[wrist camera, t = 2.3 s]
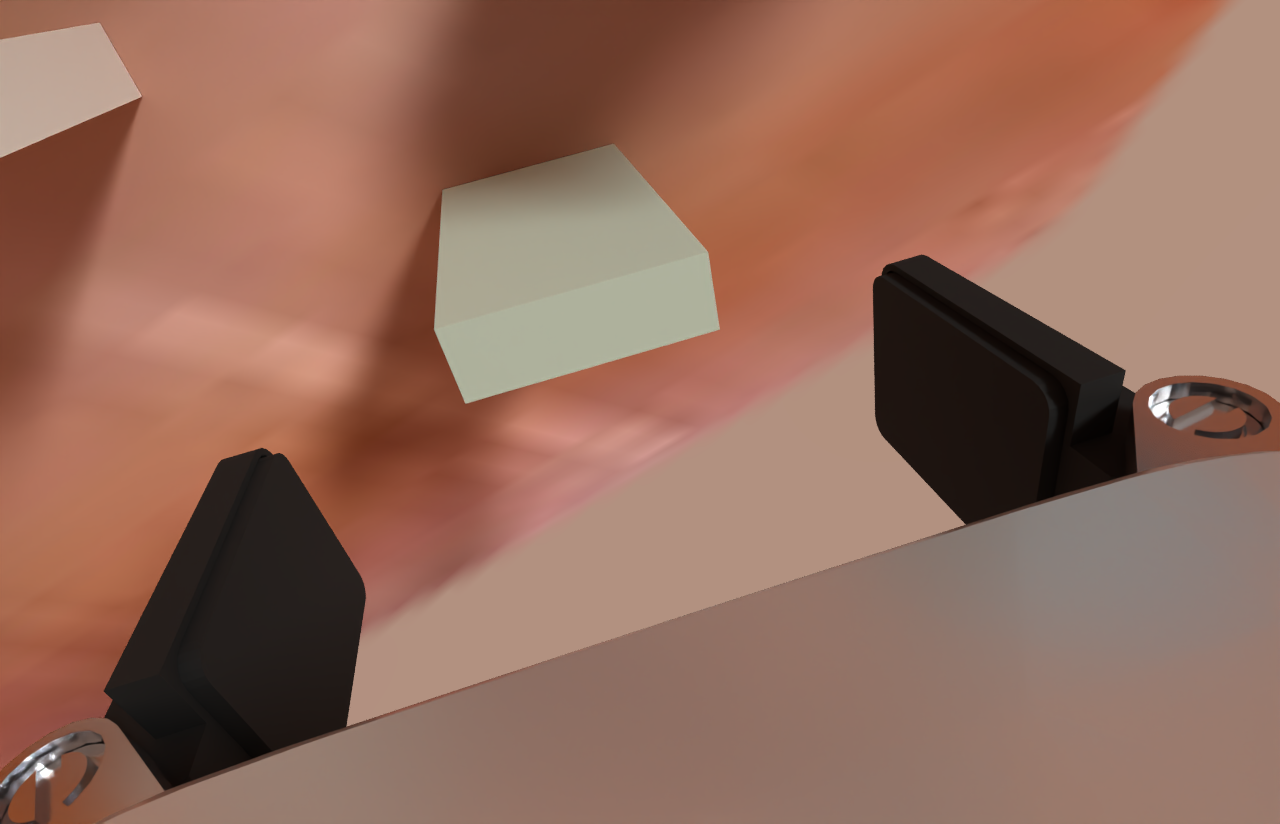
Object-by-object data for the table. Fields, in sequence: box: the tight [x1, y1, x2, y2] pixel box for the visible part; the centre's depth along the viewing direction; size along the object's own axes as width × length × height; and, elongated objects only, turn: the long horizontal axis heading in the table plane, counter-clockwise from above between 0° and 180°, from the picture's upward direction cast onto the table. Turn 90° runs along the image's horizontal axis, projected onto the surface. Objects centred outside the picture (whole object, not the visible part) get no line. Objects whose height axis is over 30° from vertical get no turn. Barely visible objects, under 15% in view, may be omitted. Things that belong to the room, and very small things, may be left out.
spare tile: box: [434, 144, 720, 404], centre depth 16 cm, size 2×5×9 cm, turn 102°
